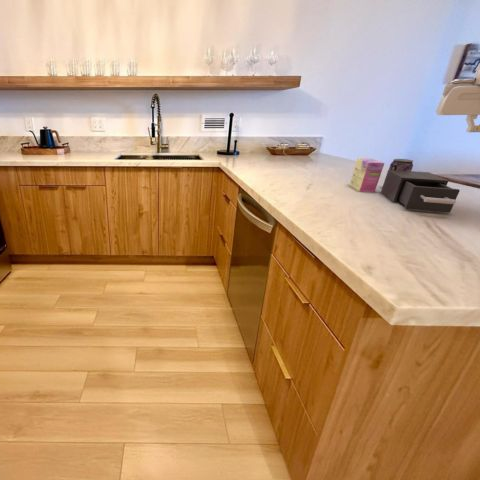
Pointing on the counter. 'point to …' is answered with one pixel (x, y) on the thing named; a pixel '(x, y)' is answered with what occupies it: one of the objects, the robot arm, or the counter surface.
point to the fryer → (397, 177)
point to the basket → (427, 196)
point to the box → (366, 174)
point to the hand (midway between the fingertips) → (474, 132)
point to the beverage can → (401, 165)
